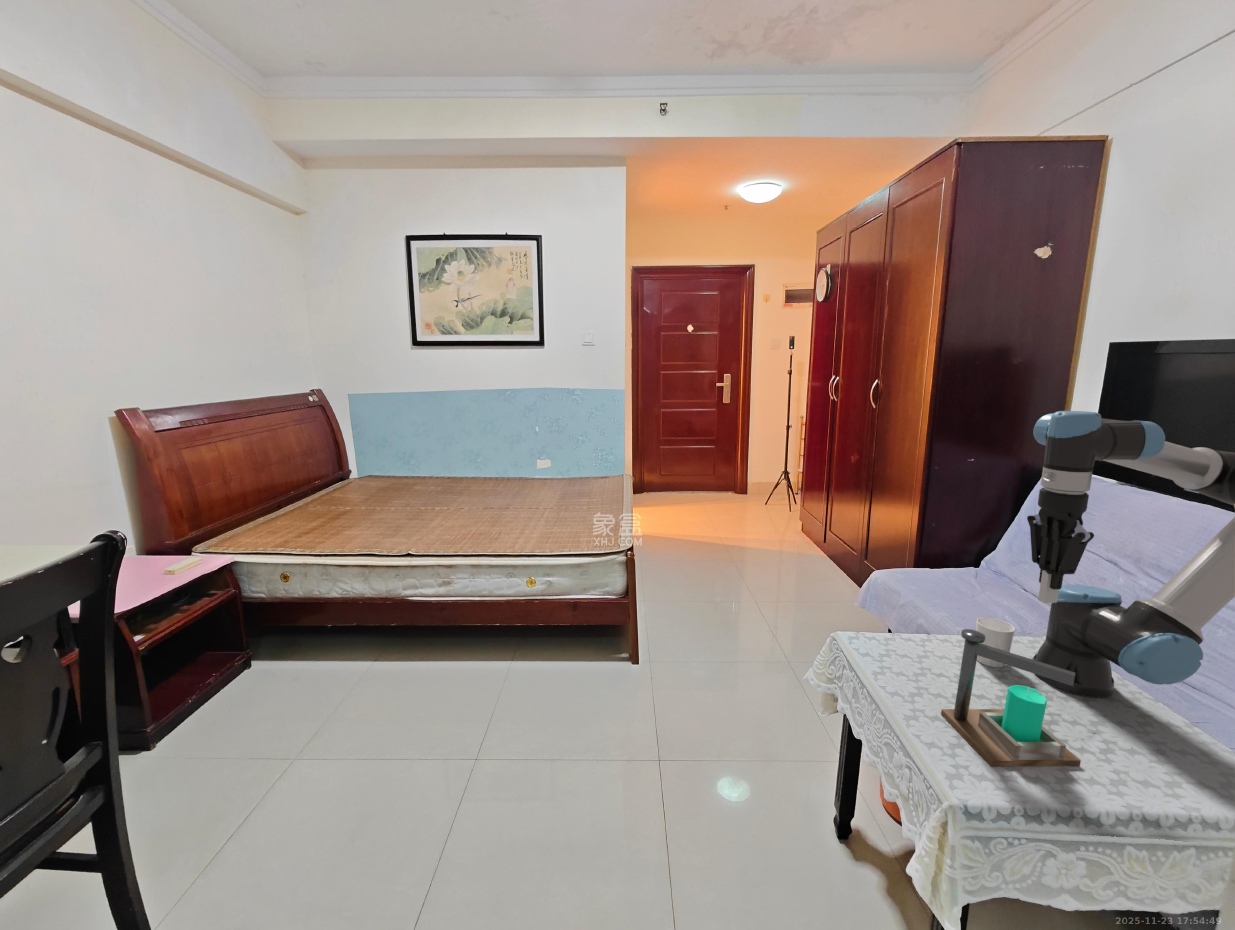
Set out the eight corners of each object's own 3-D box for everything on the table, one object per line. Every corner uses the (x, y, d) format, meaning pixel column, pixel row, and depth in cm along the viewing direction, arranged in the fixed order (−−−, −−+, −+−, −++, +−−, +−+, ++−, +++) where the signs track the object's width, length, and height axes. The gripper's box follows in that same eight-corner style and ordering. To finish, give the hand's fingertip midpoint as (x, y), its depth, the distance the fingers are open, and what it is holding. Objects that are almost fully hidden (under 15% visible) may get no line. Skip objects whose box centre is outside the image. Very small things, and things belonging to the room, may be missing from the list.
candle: (1011, 750, 102) (1021, 694, 99) (993, 729, 107) (1002, 676, 105) (1045, 753, 101) (1056, 697, 99) (1025, 732, 107) (1035, 678, 105)
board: (1018, 714, 114) (1021, 696, 114) (1079, 766, 100) (1083, 746, 99) (940, 714, 114) (943, 696, 113) (991, 766, 99) (994, 746, 98)
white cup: (1015, 671, 131) (1021, 633, 129) (979, 667, 132) (985, 630, 130) (999, 654, 138) (1005, 618, 136) (965, 650, 140) (971, 615, 138)
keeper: (1059, 750, 101) (1077, 661, 98) (1057, 761, 99) (1076, 669, 95) (951, 708, 114) (963, 627, 110) (947, 717, 111) (959, 634, 107)
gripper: (1019, 483, 111) (1005, 588, 116) (1076, 498, 98) (1057, 616, 103) (1053, 482, 111) (1038, 587, 116) (1114, 497, 99) (1094, 615, 103)
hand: (1047, 601), depth 109 cm, fingers closed
